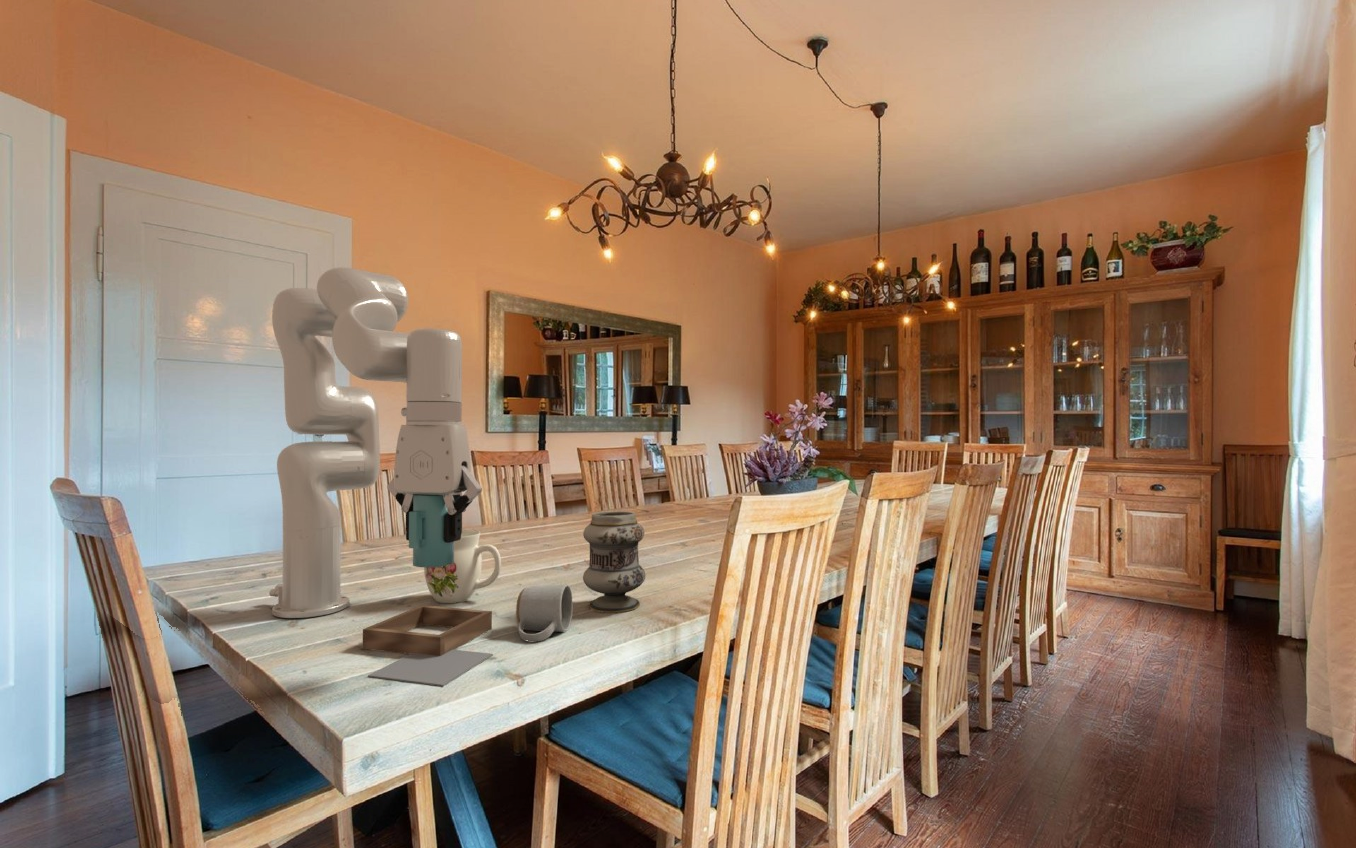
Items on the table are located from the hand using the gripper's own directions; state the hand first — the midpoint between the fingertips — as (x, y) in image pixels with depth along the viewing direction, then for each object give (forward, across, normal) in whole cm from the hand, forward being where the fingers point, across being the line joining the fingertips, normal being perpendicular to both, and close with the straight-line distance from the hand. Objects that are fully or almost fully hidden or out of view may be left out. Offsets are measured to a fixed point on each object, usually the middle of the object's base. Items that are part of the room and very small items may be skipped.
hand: (433, 538), depth 92 cm
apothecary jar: (+18, +14, +36) cm, 43 cm away
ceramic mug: (+19, +8, +18) cm, 27 cm away
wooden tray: (+18, -8, +10) cm, 22 cm away
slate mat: (+18, 0, 0) cm, 18 cm away
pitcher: (+19, -18, +32) cm, 41 cm away
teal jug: (+4, 0, 0) cm, 4 cm away
